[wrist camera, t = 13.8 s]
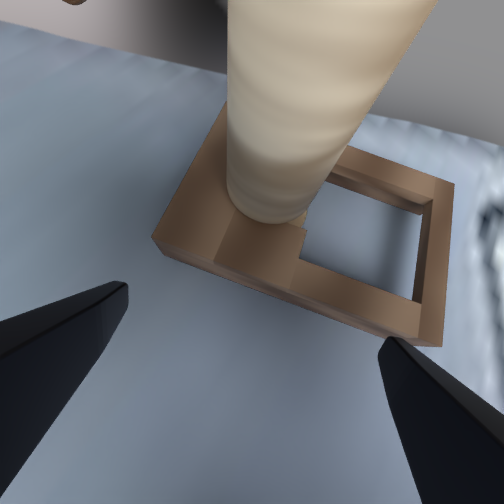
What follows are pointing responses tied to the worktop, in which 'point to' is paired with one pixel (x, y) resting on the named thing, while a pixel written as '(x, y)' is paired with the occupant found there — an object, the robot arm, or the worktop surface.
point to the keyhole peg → (304, 92)
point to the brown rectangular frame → (292, 237)
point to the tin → (74, 2)
